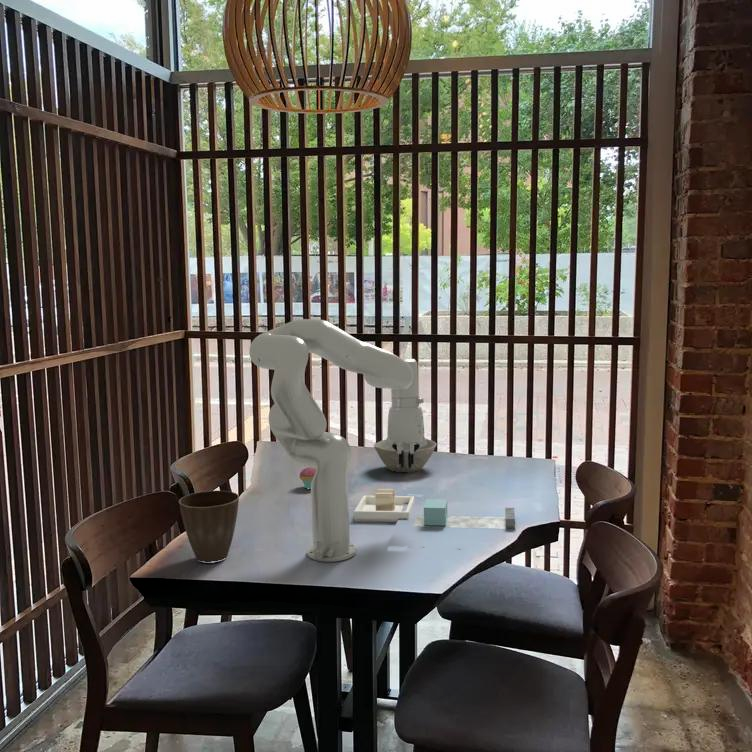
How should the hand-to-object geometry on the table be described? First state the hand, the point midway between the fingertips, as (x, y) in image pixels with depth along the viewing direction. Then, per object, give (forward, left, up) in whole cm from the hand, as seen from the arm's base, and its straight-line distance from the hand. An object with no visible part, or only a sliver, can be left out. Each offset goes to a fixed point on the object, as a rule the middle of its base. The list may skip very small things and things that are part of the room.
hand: (406, 466), depth 211 cm
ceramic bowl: (+61, +8, -17) cm, 64 cm away
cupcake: (+36, +37, -17) cm, 54 cm away
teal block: (0, -8, -16) cm, 18 cm away
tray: (+10, +8, -17) cm, 21 cm away
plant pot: (-30, +47, -17) cm, 58 cm away
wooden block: (+10, +8, -16) cm, 21 cm away
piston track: (0, -16, -17) cm, 23 cm away
